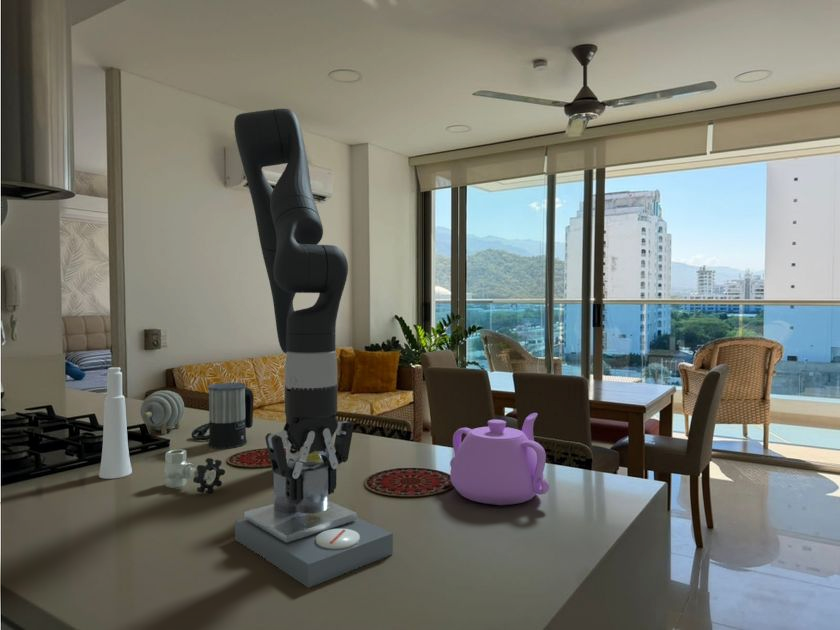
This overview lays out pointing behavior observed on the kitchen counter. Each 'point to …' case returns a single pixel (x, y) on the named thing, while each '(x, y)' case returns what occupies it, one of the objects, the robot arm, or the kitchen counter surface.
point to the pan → (298, 521)
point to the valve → (191, 471)
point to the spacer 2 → (313, 488)
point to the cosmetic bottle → (115, 430)
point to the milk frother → (227, 416)
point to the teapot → (498, 463)
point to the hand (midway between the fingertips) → (311, 497)
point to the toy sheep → (162, 411)
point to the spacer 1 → (281, 496)
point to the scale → (319, 549)
